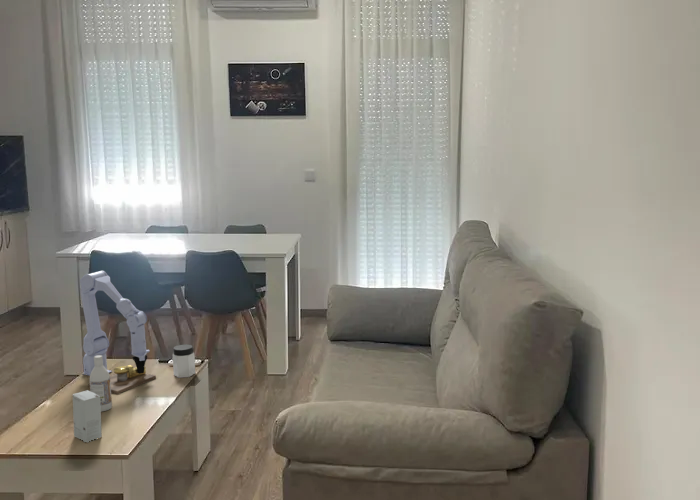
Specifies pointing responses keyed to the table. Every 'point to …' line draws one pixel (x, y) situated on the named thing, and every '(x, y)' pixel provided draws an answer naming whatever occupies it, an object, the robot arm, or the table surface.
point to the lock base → (127, 382)
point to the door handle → (128, 371)
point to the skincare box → (87, 416)
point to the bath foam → (101, 383)
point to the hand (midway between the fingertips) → (140, 373)
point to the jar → (183, 361)
